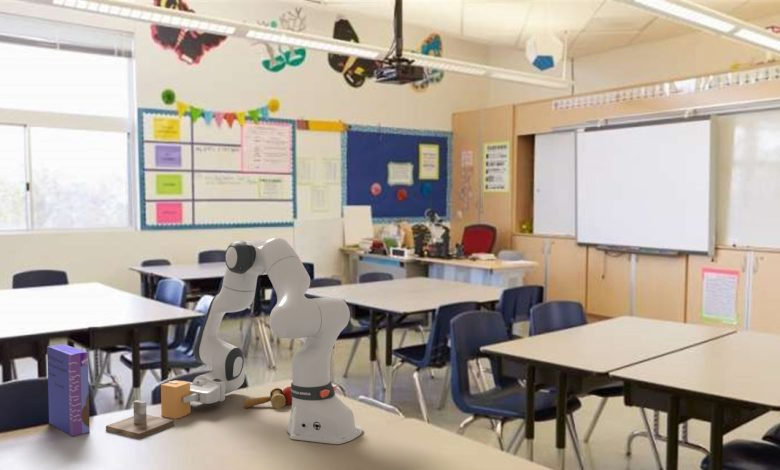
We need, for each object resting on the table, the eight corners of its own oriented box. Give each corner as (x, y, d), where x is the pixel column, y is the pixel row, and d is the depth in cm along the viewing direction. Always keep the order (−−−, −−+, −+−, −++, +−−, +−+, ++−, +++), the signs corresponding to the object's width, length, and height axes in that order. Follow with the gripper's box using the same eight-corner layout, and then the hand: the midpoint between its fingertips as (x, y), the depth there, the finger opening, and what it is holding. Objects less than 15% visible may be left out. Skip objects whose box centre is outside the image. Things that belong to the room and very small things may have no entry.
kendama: (246, 416, 211) (301, 404, 215) (243, 396, 211) (298, 384, 216) (245, 413, 218) (299, 401, 223) (242, 394, 219) (296, 382, 223)
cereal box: (89, 432, 192) (87, 351, 191) (72, 436, 188) (70, 354, 187) (65, 419, 203) (63, 343, 202) (49, 423, 200) (47, 345, 199)
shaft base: (173, 425, 198) (173, 399, 197) (139, 438, 186) (138, 411, 186) (141, 418, 204) (141, 392, 204) (105, 430, 193) (105, 404, 193)
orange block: (190, 413, 209) (190, 381, 208) (176, 419, 204) (175, 386, 203) (175, 410, 212) (175, 379, 211) (161, 415, 207) (160, 383, 206)
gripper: (182, 374, 224) (150, 384, 212) (228, 382, 214) (197, 392, 202) (182, 392, 224) (150, 403, 212) (228, 401, 214) (197, 412, 202)
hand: (173, 398), depth 207 cm, fingers closed on orange block, 6 cm apart
